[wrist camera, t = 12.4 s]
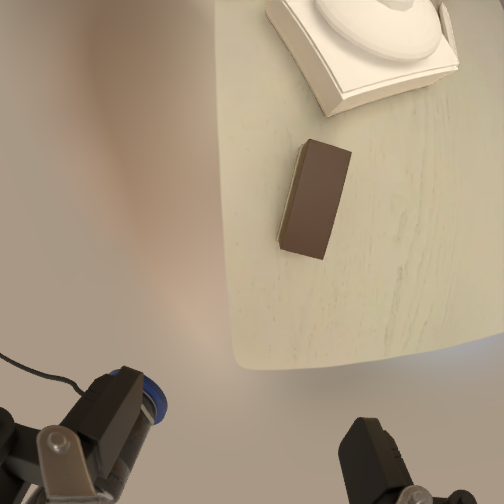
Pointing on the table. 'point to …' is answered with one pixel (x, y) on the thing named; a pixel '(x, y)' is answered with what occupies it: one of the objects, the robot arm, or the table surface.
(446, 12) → the cream rounded rod
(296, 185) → the brown block cream base
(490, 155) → the table surface
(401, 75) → the white lidded box
